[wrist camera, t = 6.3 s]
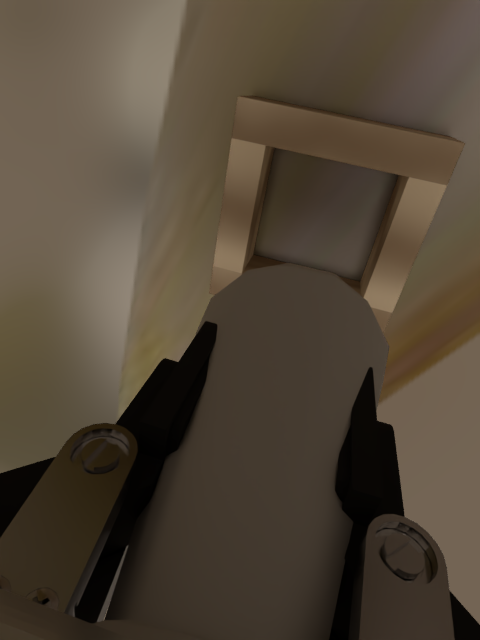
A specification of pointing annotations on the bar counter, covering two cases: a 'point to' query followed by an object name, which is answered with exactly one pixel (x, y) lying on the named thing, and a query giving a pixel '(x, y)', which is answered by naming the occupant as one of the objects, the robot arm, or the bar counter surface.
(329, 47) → the bar counter surface
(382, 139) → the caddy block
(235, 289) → the salt shaker
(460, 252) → the bar counter surface
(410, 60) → the bar counter surface
